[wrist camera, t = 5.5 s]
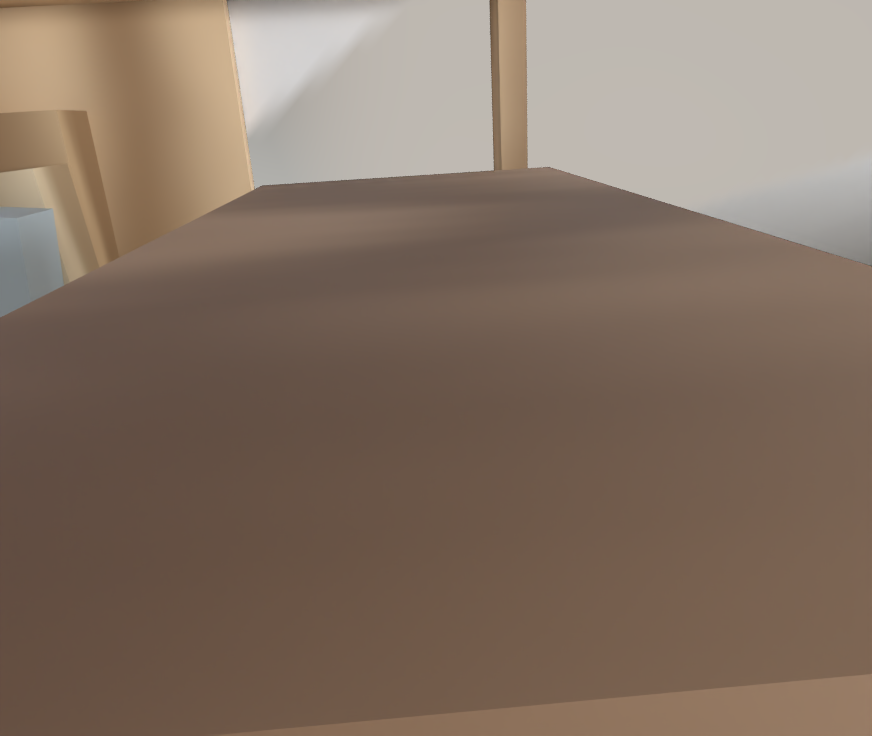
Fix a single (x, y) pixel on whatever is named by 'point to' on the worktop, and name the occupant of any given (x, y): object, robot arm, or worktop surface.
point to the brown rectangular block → (441, 473)
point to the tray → (182, 98)
